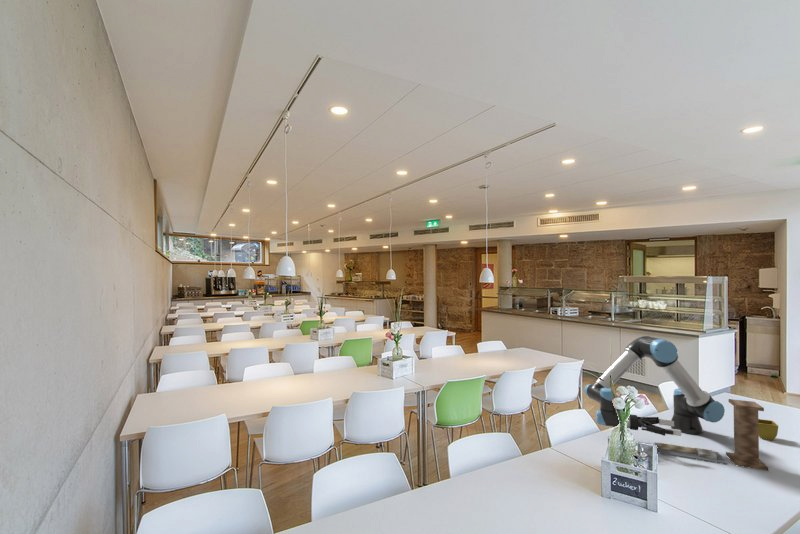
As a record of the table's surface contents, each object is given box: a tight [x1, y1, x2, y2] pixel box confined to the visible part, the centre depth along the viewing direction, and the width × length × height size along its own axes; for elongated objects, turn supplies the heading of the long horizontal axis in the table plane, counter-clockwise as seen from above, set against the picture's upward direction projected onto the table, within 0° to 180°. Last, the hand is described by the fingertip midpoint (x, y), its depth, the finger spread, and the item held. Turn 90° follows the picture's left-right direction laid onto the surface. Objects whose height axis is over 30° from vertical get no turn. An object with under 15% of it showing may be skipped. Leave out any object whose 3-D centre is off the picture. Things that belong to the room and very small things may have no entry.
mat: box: [654, 441, 728, 465], centre depth 194 cm, size 27×13×1 cm, turn 66°
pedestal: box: [725, 398, 769, 472], centre depth 185 cm, size 12×12×28 cm
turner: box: [657, 442, 717, 459], centre depth 194 cm, size 23×7×2 cm, turn 66°
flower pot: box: [758, 418, 779, 441], centre depth 214 cm, size 9×9×9 cm
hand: (677, 428), depth 196 cm, fingers open, 13 cm apart
